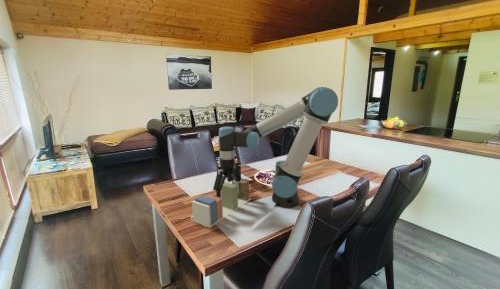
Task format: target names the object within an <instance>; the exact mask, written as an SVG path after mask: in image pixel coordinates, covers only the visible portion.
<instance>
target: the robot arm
mask: <svg viewBox="0 0 500 289" xmlns="http://www.w3.org/2000/svg"><path fill="white" fill-rule="evenodd" d="M338 97H339V96H338V94H337V93H336V92H335V91H334V90H333V89H332V88H329V87H327V86H321V87H320V86H319V87H317V88H314V89H313V90H312V91H311V92H309V93H308V94H306V95H305V96H303V97H301V98H300V100H299V101H297V102H296V103H294V104H292V105H289V106H288V107H286V108H284V109H282V110H280V111H278V112H276V113H274V114H272V115H271V116H269V117H267V118H265V119H263V120H261V121H259V122H257V123H256V124H254V125H250V126H248V127H246V128H245V130H244V131H235V127H233V126H221V127H220V128H219V129H218V147H219V165H220V167H221V170H219V169H217V170H216V176H215V179H214V180H215V181H214V184H213V188H212V190H213V191H215V193H216V197H218V198H221V199H222V190H221V189H222V186H223V184H224V182H225V181H226V180H227V177H228V176H229V175H231V176H232V177H233V178H234V180H235V181H234V185H237V187H238V193H239V181H240V180H242V174H241V175H240V172H239V170H238V166H239V165H238V164H237V163H236V159H235V156H236V155H235V154H236V153H235V152H236V151H235V147H236V148H250V149H251V148H253V149H254V148H257V147H259V144H260V139H261V138H263V137H265V136H266V135H269V134H271V133H272V132H274V131H277V130H280V129H281V128H283V127H285V126H287V125H289V124H291V123H293V122H294V121H297V120H299V119H301V118H303V117H304V118H303V120H302V122H301V125H300V127H299V130H298V132H297V133H296V136H295V138H294V140H293V143H292V144H291V146H290V149H289V152H288V153H287V156H286V158H285V159H284V160H278V161H275V165H274V167H275V171H274V176H273V179H272V182H271V187H272V190H273V192H272V196H271V200H272V203H274V206H277V207H281V208H294V207H297V206H298V205H299V204H300V194H299V192H298V184H299V183H300V182H301V179H302V176H303V172H302V169H303V166H304V164H305V163H306V161H307V158H308V156H309V154H310V153H311V150H312V148H313V146H314V144H315V142H316V139H317V138H318V135H319V134H320V131H321V129H322V127H323V125H324V124H327V123H328V122H329V121H330V118H331V116H332V115H333V113H334V112H335V111H336V110H337V109H338V105H339V98H338ZM222 203H223V201H222Z"/></svg>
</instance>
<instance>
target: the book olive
mask: <svg viewBox="0 0 500 289" xmlns="http://www.w3.org/2000/svg"><path fill="white" fill-rule="evenodd" d="M221 190H222V201H223V203H222V207H225V208H228V209H231V210H234V209H236V208H237V207H238V187H237V185H234V184H232V183H231V182H225V181H224V184H223V186H222V189H221Z"/></svg>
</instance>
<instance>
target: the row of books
mask: <svg viewBox="0 0 500 289" xmlns="http://www.w3.org/2000/svg"><path fill="white" fill-rule="evenodd" d="M251 200H252V198H249V199H248V200H246V201H244V200H241V199H238V207H237V208H236V209H234V210H231V209H228V208H225V207H222V208H223V217H222V218H220V219H219V220H217V222H215V223H214V224H212V225H211V217H210V206H208V205H205V204H202V203H199V202H196V201H195V200H192V201H191V208H192V209H191V210H192V215H191V216H190V221H192V222H194V223H197V224H199V225H201V226H204V227H207V228H208V229H210V228H212V227H214V226H216V224H218V223H219V222H221V221H222V220H224V219H225V218H226V217H228V216H230V214H231V215H232V213H234V212H235V211H237V210H238V209H240V208H241V207H243V206H244V205H246V204H247V203H248V202H250V201H251Z"/></svg>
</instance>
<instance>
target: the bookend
mask: <svg viewBox="0 0 500 289" xmlns="http://www.w3.org/2000/svg"><path fill="white" fill-rule="evenodd" d="M234 181H235V180H232V181H231V184H234ZM249 184H250V182H249V181H246V180H243V179H241V180H240V181H239V193H238V199H241V200H244V201H246V200H248V199H250V196H249V195H250V194H249V193H250V192H249V190H250V189H249V188H250V187H249V186H250V185H249Z"/></svg>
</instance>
